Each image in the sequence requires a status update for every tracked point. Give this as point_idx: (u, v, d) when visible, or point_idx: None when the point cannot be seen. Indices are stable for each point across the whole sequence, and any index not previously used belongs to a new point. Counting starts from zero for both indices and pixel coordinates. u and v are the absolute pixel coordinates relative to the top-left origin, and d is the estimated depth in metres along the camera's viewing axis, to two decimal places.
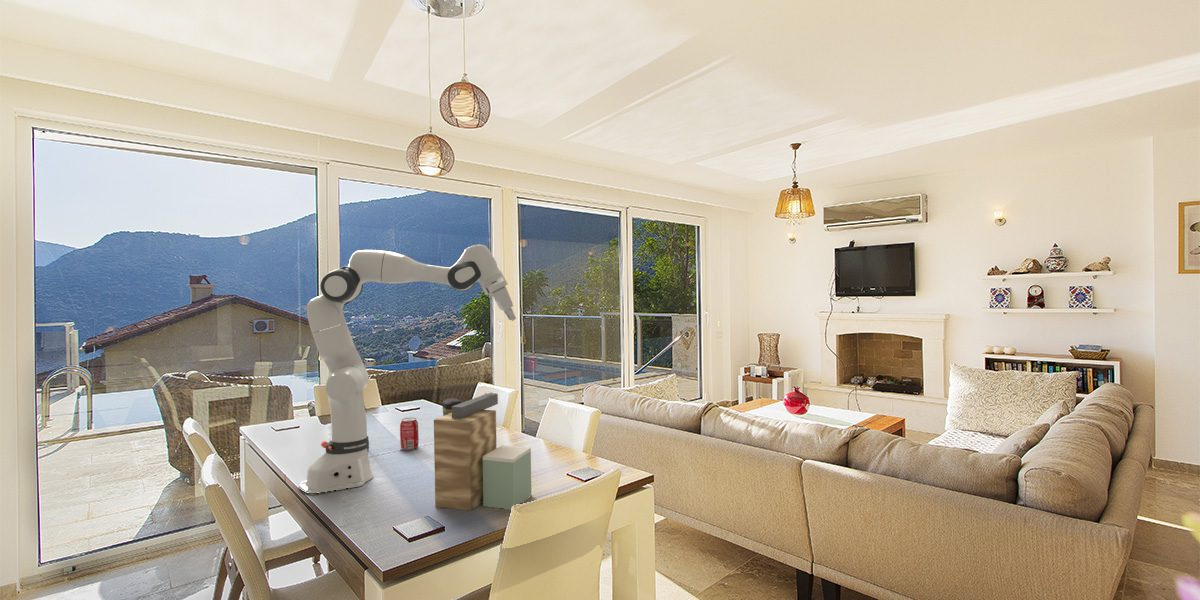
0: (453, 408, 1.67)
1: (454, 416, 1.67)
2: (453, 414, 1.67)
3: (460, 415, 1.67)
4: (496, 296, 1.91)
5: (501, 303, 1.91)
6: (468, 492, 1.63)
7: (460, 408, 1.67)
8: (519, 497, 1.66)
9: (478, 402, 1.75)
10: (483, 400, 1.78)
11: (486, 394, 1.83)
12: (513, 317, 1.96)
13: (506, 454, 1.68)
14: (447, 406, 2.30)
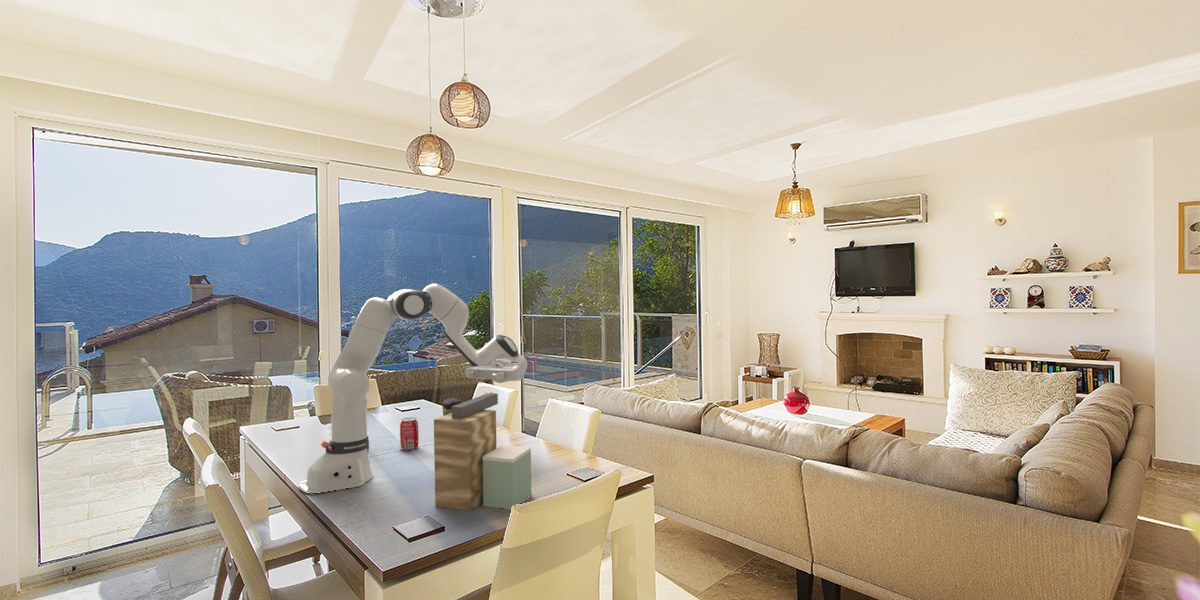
0: (453, 408, 1.67)
1: (454, 416, 1.67)
2: (453, 414, 1.67)
3: (460, 415, 1.67)
4: (519, 367, 2.03)
5: (517, 370, 2.00)
6: (468, 492, 1.63)
7: (460, 408, 1.67)
8: (519, 497, 1.66)
9: (478, 402, 1.75)
10: (483, 400, 1.78)
11: (486, 394, 1.83)
12: (497, 377, 1.95)
13: (506, 454, 1.68)
14: (447, 406, 2.30)
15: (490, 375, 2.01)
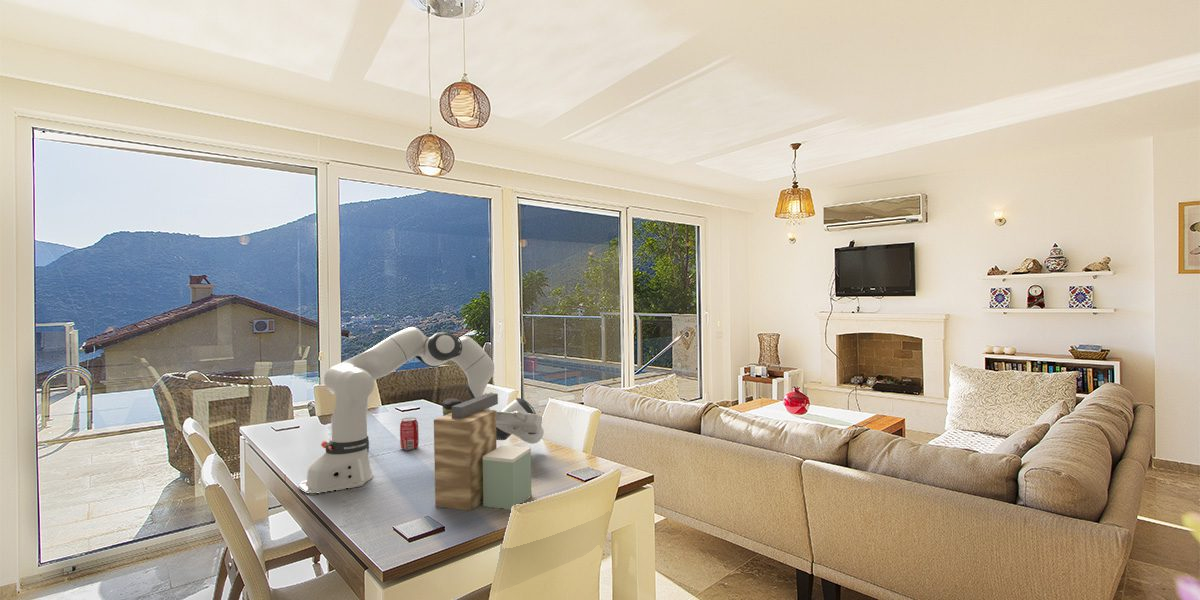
0: (453, 408, 1.67)
1: (454, 416, 1.67)
2: (453, 414, 1.67)
3: (460, 415, 1.67)
4: (540, 417, 2.01)
5: (538, 416, 1.98)
6: (468, 492, 1.63)
7: (460, 408, 1.67)
8: (519, 497, 1.66)
9: (478, 402, 1.75)
10: (483, 400, 1.78)
11: (486, 394, 1.83)
12: (518, 415, 1.94)
13: (506, 454, 1.68)
14: (447, 406, 2.30)
15: (510, 418, 1.99)
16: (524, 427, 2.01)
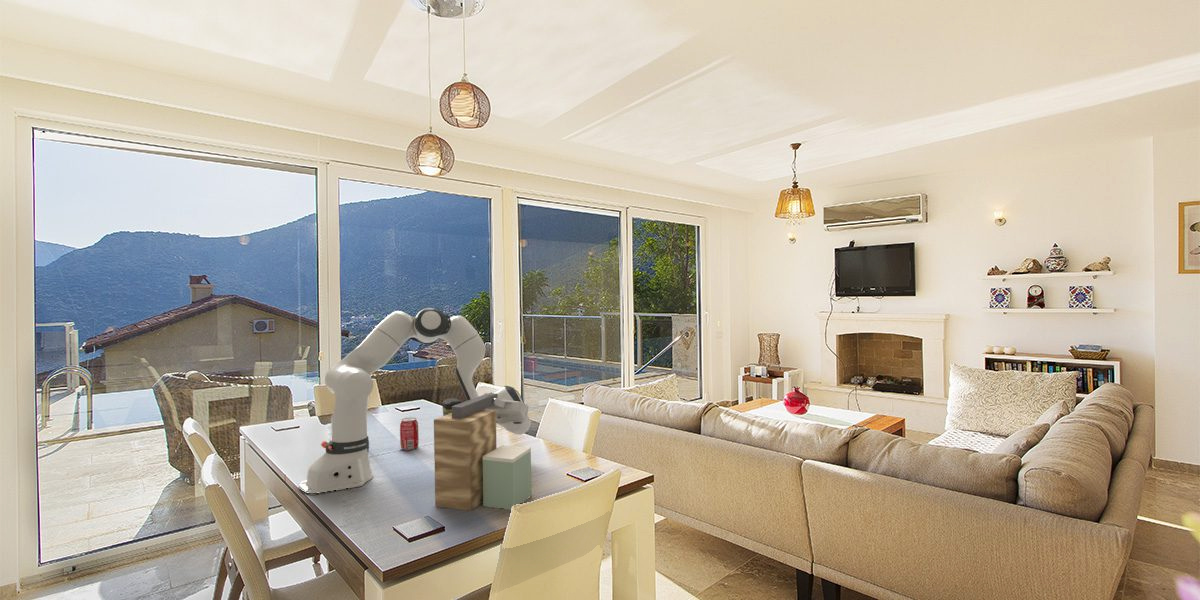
0: (453, 408, 1.67)
1: (454, 416, 1.67)
2: (453, 414, 1.67)
3: (460, 415, 1.67)
4: (526, 406, 1.91)
5: (524, 404, 1.88)
6: (468, 492, 1.63)
7: (460, 408, 1.66)
8: (519, 497, 1.66)
9: (478, 402, 1.75)
10: (483, 400, 1.78)
11: (486, 394, 1.83)
12: (496, 402, 1.84)
13: (506, 454, 1.68)
14: (447, 406, 2.30)
15: (494, 406, 1.88)
16: (509, 416, 1.91)
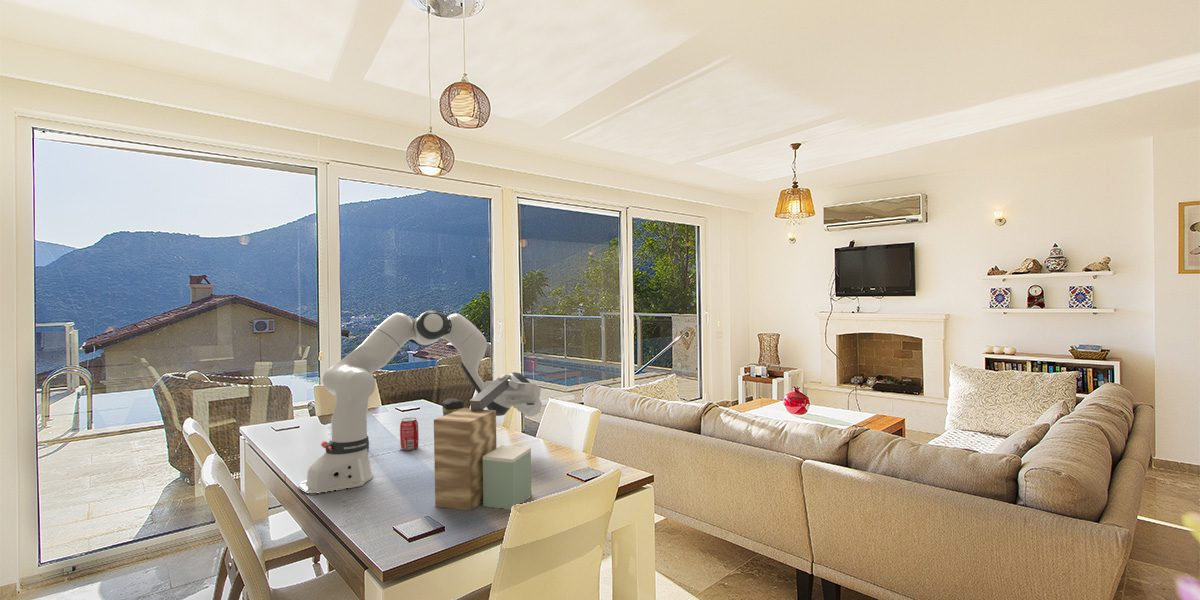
0: (471, 402, 1.77)
1: (473, 409, 1.77)
2: (472, 407, 1.77)
3: (479, 408, 1.76)
4: (538, 388, 2.00)
5: (537, 386, 1.97)
6: (468, 492, 1.63)
7: (478, 402, 1.76)
8: (519, 497, 1.66)
9: (494, 390, 1.84)
10: (498, 386, 1.87)
11: (500, 378, 1.92)
12: (511, 383, 1.93)
13: (506, 454, 1.68)
14: (447, 406, 2.30)
15: (508, 388, 1.98)
16: (522, 397, 2.00)
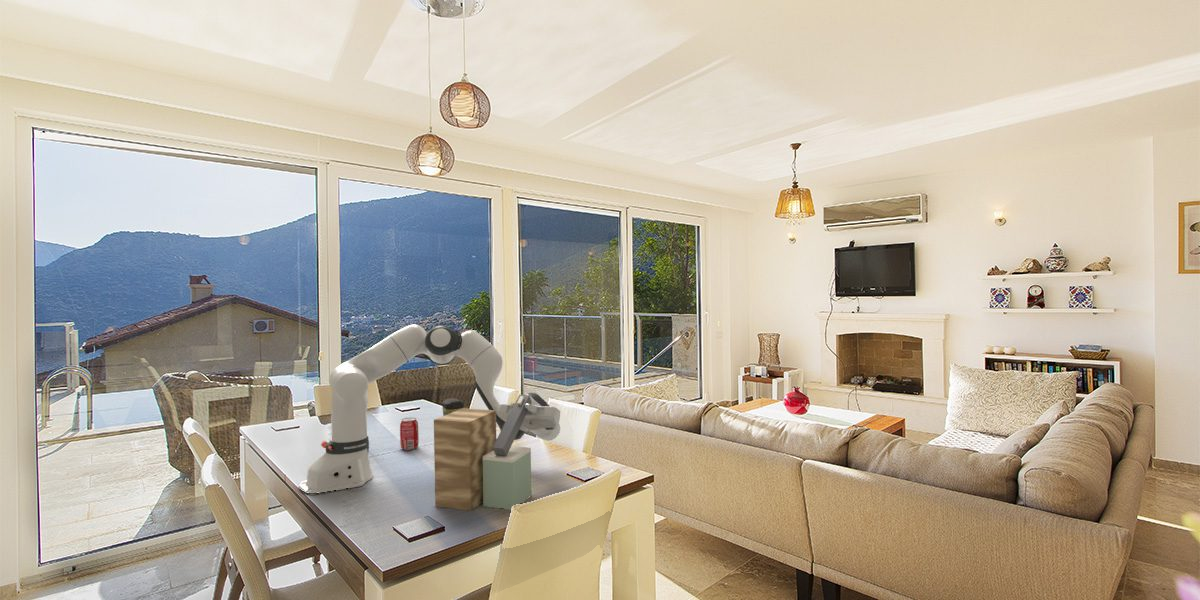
0: (494, 449, 1.64)
1: (498, 454, 1.66)
2: (496, 453, 1.66)
3: (504, 454, 1.65)
4: (558, 411, 1.84)
5: (557, 409, 1.81)
6: (468, 492, 1.63)
7: (502, 449, 1.64)
8: (519, 497, 1.66)
9: (515, 425, 1.71)
10: (518, 417, 1.73)
11: (519, 403, 1.77)
12: (529, 407, 1.77)
13: None
14: (447, 406, 2.30)
15: None
16: (541, 422, 1.84)
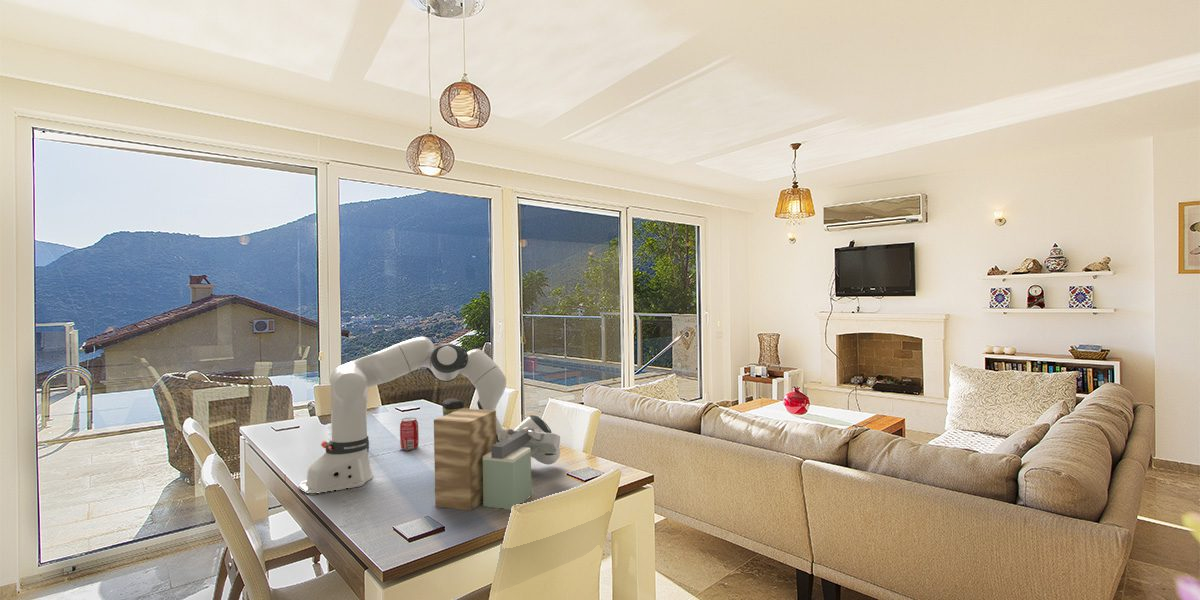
0: (493, 447, 1.64)
1: (494, 456, 1.64)
2: (493, 454, 1.64)
3: (500, 455, 1.63)
4: (558, 437, 1.84)
5: (556, 436, 1.81)
6: (468, 492, 1.63)
7: (500, 448, 1.63)
8: (519, 497, 1.66)
9: (516, 439, 1.72)
10: (521, 437, 1.75)
11: (523, 430, 1.80)
12: (533, 434, 1.77)
13: None
14: (447, 406, 2.30)
15: None
16: (541, 447, 1.84)
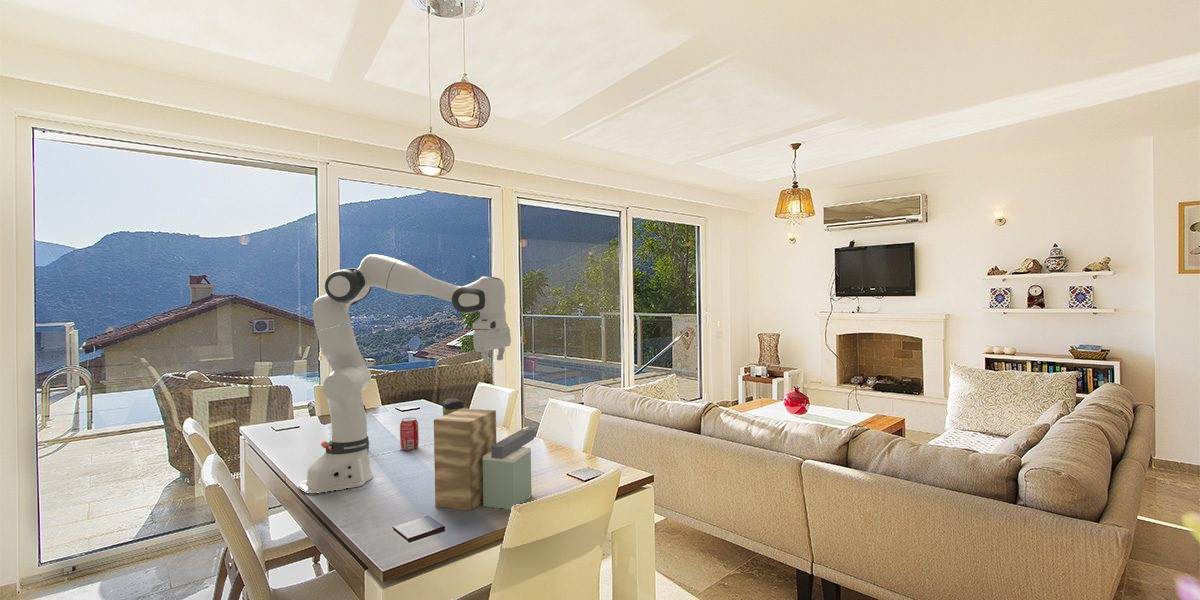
0: (493, 447, 1.64)
1: (494, 456, 1.64)
2: (493, 454, 1.64)
3: (500, 455, 1.63)
4: (474, 334, 1.87)
5: (474, 343, 1.86)
6: (468, 492, 1.63)
7: (500, 448, 1.63)
8: (519, 497, 1.66)
9: (516, 439, 1.72)
10: (521, 437, 1.75)
11: (523, 430, 1.80)
12: (486, 361, 1.90)
13: None
14: (447, 406, 2.30)
15: None
16: (492, 333, 1.91)
